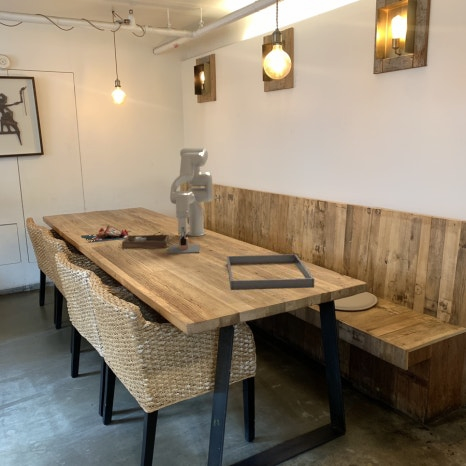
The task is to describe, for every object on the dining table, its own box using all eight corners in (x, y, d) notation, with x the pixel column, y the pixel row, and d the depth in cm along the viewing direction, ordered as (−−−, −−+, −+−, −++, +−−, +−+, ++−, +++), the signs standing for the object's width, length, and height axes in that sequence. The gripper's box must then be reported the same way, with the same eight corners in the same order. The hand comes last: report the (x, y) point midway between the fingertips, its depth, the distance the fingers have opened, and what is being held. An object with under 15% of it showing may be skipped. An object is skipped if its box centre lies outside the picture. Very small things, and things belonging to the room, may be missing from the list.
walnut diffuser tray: (127, 241, 295) (127, 235, 295) (169, 240, 297) (168, 234, 296) (122, 248, 277) (122, 242, 276) (166, 247, 278) (165, 241, 277)
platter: (131, 232, 331) (131, 219, 329) (139, 240, 307) (138, 226, 305) (80, 237, 318) (79, 224, 316) (84, 246, 294) (83, 232, 292)
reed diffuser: (131, 234, 286) (162, 227, 295) (132, 243, 290) (162, 236, 299) (137, 243, 279) (168, 236, 288) (137, 252, 283) (168, 245, 292)
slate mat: (170, 246, 280) (169, 245, 280) (199, 245, 281) (199, 244, 281) (167, 253, 263) (167, 252, 263) (199, 253, 264) (199, 251, 264)
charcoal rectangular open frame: (227, 263, 240) (226, 256, 240) (296, 261, 242) (296, 254, 241) (230, 290, 198) (230, 281, 197) (314, 287, 200) (314, 278, 199)
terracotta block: (180, 247, 274) (179, 237, 273) (188, 247, 275) (188, 237, 273) (179, 249, 269) (179, 239, 268) (188, 249, 270) (187, 239, 268)
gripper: (177, 212, 276) (178, 240, 280) (175, 217, 259) (176, 246, 263) (189, 212, 277) (190, 240, 280) (188, 216, 260) (189, 246, 263)
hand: (183, 243), depth 271 cm, fingers open, 9 cm apart
